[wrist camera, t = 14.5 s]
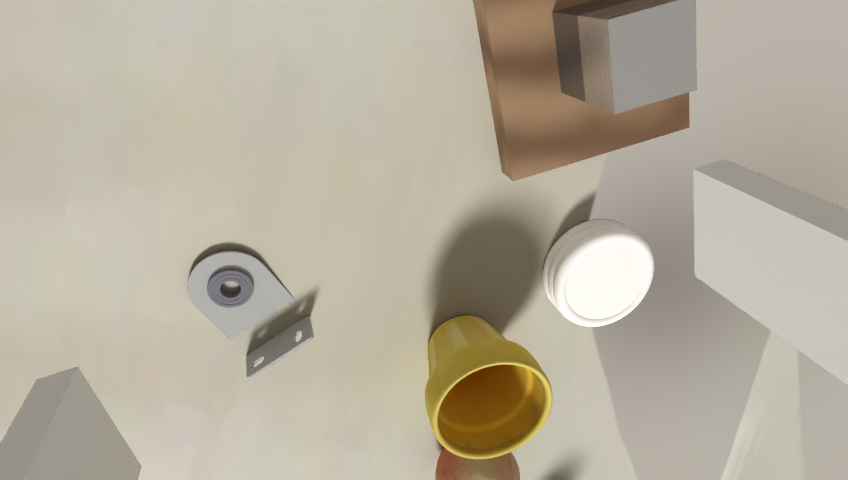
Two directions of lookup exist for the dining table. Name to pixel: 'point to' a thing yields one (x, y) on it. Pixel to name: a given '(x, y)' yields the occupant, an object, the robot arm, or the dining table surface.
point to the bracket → (245, 303)
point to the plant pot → (483, 390)
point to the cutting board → (552, 95)
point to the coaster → (598, 272)
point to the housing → (626, 51)
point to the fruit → (476, 467)
